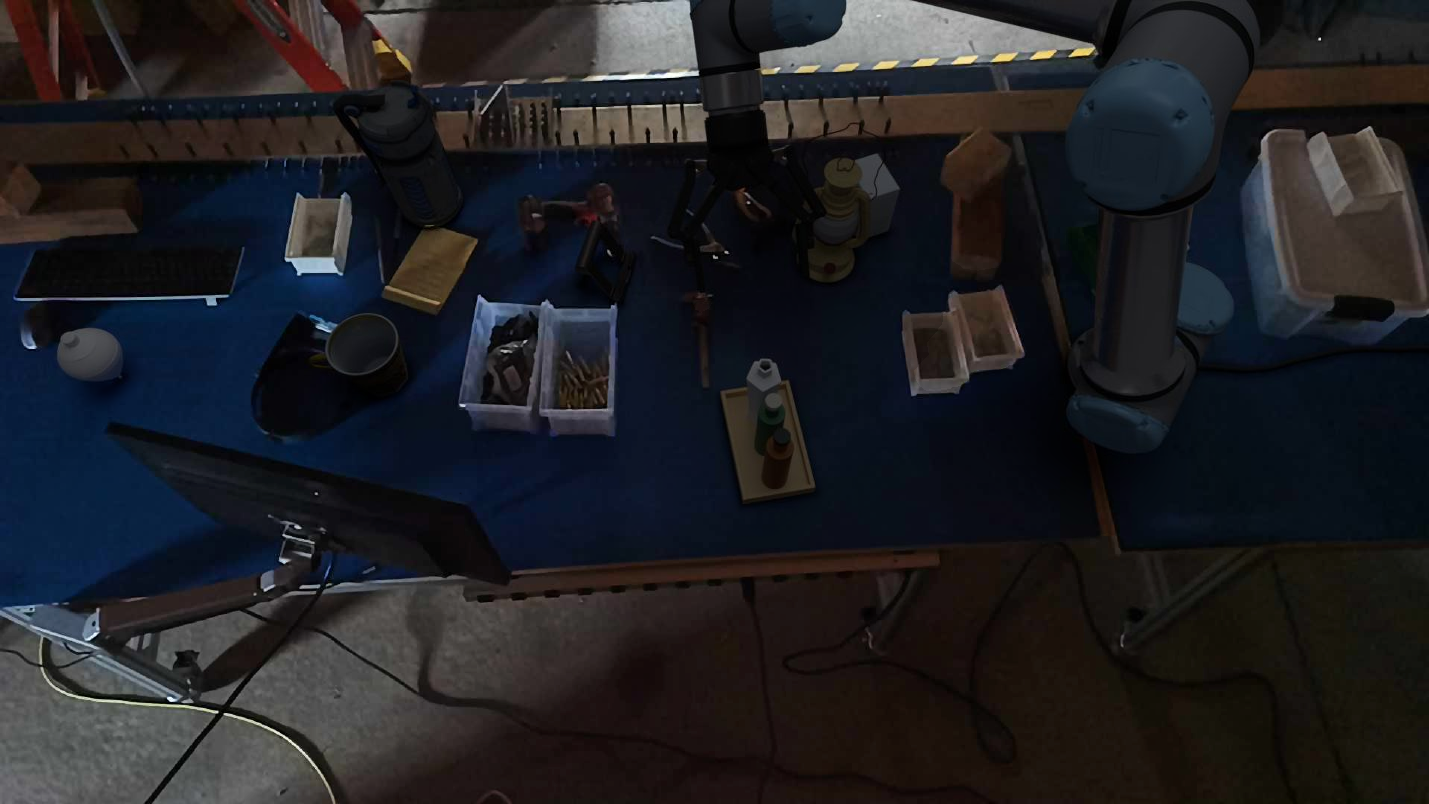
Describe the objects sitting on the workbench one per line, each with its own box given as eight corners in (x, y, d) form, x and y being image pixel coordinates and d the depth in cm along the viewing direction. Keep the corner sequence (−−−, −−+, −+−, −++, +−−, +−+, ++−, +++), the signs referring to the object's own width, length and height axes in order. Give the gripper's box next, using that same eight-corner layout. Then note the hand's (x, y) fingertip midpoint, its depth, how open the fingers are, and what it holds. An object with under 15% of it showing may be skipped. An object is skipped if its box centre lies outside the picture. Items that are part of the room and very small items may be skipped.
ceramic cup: (415, 341, 131) (393, 305, 122) (424, 397, 127) (402, 365, 118) (328, 362, 129) (299, 327, 120) (334, 420, 125) (305, 388, 116)
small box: (888, 232, 141) (901, 189, 131) (857, 242, 140) (868, 200, 130) (867, 195, 144) (878, 151, 135) (836, 205, 143) (845, 161, 134)
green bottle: (776, 431, 124) (784, 385, 111) (781, 454, 123) (790, 410, 110) (752, 435, 124) (757, 390, 111) (757, 458, 122) (763, 415, 109)
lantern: (788, 285, 136) (808, 152, 109) (787, 234, 140) (806, 94, 113) (864, 287, 136) (903, 154, 109) (861, 236, 140) (897, 96, 113)
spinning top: (90, 404, 126) (32, 365, 115) (98, 359, 129) (42, 317, 119) (144, 397, 127) (91, 357, 116) (151, 352, 130) (100, 309, 119)
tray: (787, 386, 128) (788, 379, 126) (814, 492, 121) (815, 487, 119) (720, 397, 127) (720, 390, 125) (742, 504, 120) (743, 499, 118)
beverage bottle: (389, 186, 144) (330, 68, 122) (469, 179, 145) (425, 61, 122) (386, 235, 140) (324, 122, 117) (468, 228, 140) (422, 115, 118)
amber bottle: (784, 463, 122) (793, 420, 109) (789, 487, 121) (799, 446, 108) (759, 467, 122) (765, 425, 109) (764, 491, 120) (771, 451, 107)
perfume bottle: (782, 412, 126) (790, 363, 112) (762, 433, 124) (769, 385, 111) (758, 394, 127) (763, 343, 113) (738, 414, 125) (742, 365, 112)
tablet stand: (622, 305, 134) (617, 274, 127) (574, 295, 135) (566, 264, 127) (636, 259, 138) (632, 226, 130) (589, 250, 139) (582, 217, 131)
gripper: (826, 98, 109) (839, 263, 116) (630, 124, 107) (656, 291, 114) (842, 97, 102) (855, 273, 109) (633, 125, 100) (660, 303, 107)
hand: (753, 283), depth 112 cm, fingers open, 13 cm apart
